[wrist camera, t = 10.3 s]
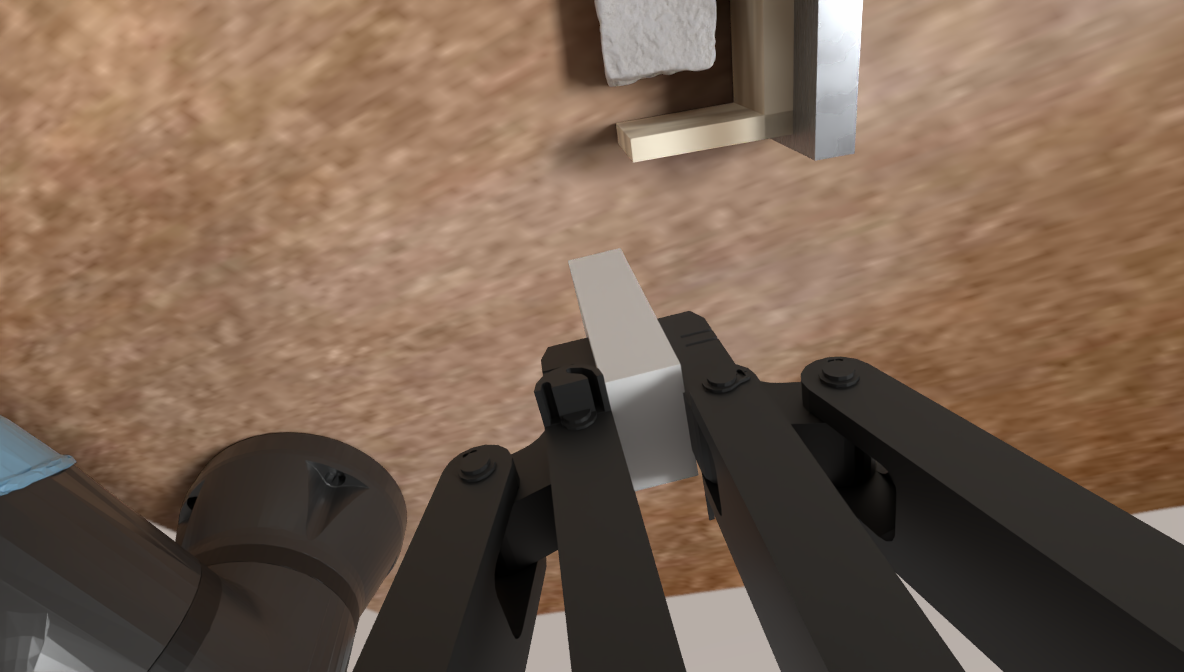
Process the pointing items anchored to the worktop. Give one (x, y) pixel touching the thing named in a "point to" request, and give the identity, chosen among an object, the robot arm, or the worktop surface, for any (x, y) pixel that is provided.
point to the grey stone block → (655, 37)
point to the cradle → (756, 86)
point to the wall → (825, 77)
